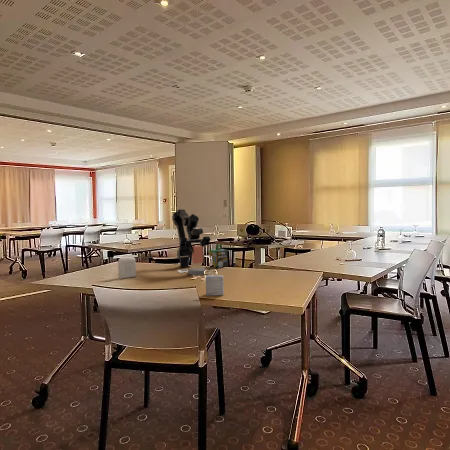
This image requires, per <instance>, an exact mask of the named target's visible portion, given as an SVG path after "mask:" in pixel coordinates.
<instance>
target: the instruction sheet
mask: <svg viewBox="0 0 450 450" xmlns="http://www.w3.org/2000/svg"><path fill="white" fill-rule="evenodd" d="M176 271H177V272H178V273H179V274H183V273H184V272H186V273H188V270H187V269H177V270H176Z"/></svg>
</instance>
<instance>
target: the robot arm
mask: <svg viewBox="0 0 450 450" xmlns="http://www.w3.org/2000/svg"><path fill="white" fill-rule="evenodd" d="M171 218H172V221H173V225H175V226H176V229H177V234H178V240H179V243H178V244H179V247H178V251H177V254H176V256H177V259H179V263H180V265H178V268H182V267H185V268H191V266H190V264H189V263H190V262H189V258H190V259H192V253H194V250H193V247H192V246H193V245H192V244H200V245H199V246H203V248H204V247H205V246H209V245H210V242H211V237H210V236H203V237H202V239H200V238H201V235H202V234H204V229H203V228H202V227H201V228H196V227H198V223H199V218H200V217H198V215H195V213H192V214H191V213H190V215H189V214H188V212H186V209H177V210H176V211H175V212H173V214H172V216H171ZM184 227H185V228H184ZM185 230H186V232H185ZM186 233H187V235H188V236H187V237H186Z"/></svg>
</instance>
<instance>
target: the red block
mask: <svg viewBox="0 0 450 450" xmlns="http://www.w3.org/2000/svg"><path fill="white" fill-rule="evenodd" d="M192 247H193V250H194V253H192V254H191V262H192V263H193V264H204V247H203V246H200V245H194V246H193V245H192Z"/></svg>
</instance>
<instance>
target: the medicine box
mask: <svg viewBox="0 0 450 450" xmlns="http://www.w3.org/2000/svg"><path fill="white" fill-rule="evenodd" d="M224 287H225V286H224V275H222V274H221V275H220V274H213V275H212V274H211V275H209V274H206V276H205V296H206V297H207V296H223V295H224V294H225V293H224V292H225V290H224V289H225V288H224Z"/></svg>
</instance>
